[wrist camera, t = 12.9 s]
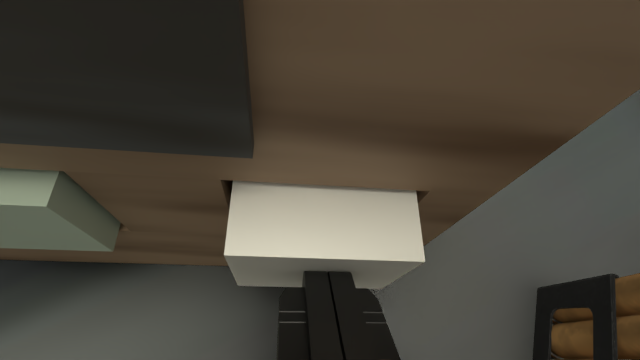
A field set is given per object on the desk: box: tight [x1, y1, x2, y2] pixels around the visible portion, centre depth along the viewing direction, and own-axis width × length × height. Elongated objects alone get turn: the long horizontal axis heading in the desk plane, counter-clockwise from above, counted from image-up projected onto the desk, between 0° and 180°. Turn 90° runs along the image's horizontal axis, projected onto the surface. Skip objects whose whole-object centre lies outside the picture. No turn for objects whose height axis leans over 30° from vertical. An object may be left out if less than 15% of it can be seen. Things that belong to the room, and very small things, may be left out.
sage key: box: [0, 168, 121, 252], centre depth 12 cm, size 6×5×4 cm
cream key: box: [224, 180, 425, 289], centre depth 13 cm, size 6×5×4 cm
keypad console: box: [0, 0, 640, 266], centre depth 12 cm, size 7×30×18 cm, turn 90°
